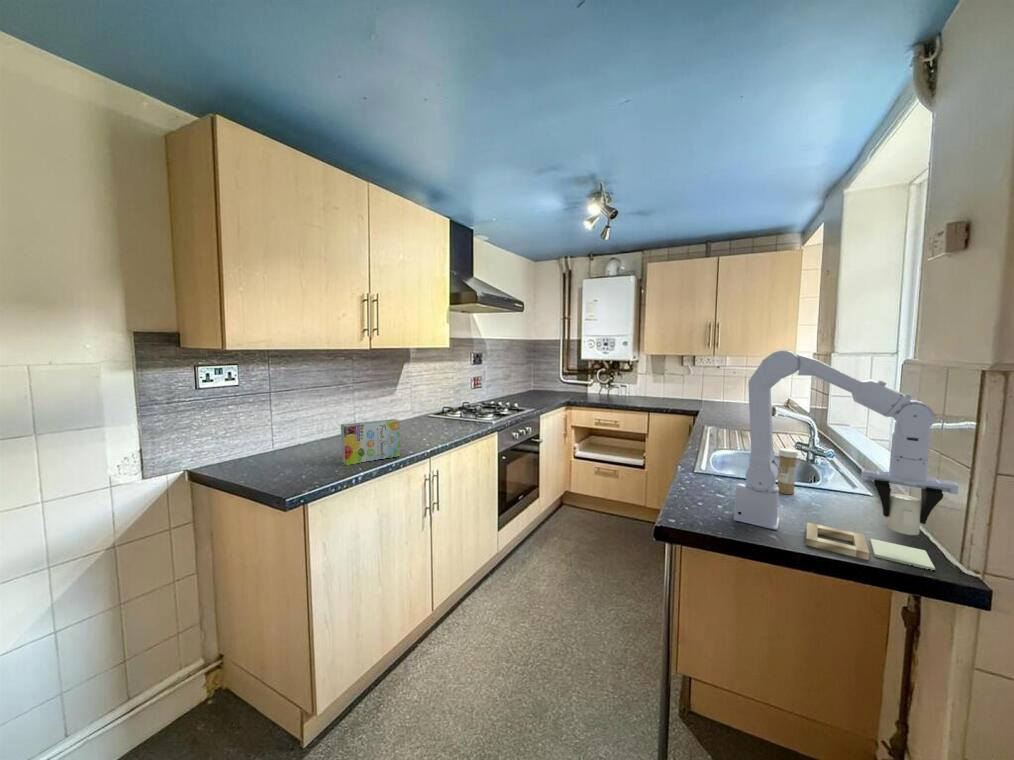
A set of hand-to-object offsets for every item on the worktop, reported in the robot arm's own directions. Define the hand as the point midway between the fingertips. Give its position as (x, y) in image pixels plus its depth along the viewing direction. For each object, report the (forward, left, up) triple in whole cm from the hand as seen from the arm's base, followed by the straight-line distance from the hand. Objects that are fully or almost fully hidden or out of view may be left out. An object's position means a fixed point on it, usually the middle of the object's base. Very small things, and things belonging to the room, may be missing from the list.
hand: (903, 518), depth 87 cm
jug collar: (-11, -2, -8) cm, 14 cm away
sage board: (0, 0, -8) cm, 8 cm away
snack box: (-152, -28, -8) cm, 155 cm away
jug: (0, 0, -2) cm, 2 cm away
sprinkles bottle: (-22, +31, -8) cm, 39 cm away
